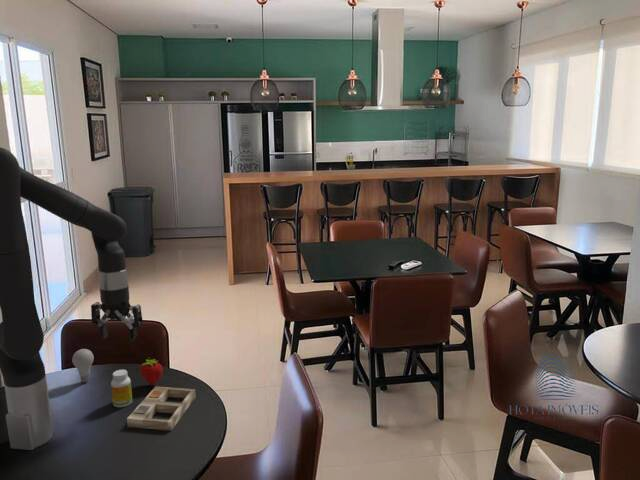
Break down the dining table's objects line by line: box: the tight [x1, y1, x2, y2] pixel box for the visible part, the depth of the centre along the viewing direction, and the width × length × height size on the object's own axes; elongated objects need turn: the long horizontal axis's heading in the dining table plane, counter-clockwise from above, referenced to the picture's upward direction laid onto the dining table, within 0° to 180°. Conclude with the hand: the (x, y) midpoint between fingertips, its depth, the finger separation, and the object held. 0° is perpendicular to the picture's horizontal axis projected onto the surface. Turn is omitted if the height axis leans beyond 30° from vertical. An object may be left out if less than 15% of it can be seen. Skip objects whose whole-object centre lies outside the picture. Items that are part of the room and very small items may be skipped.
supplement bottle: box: [110, 369, 133, 408], centre depth 152 cm, size 5×5×10 cm
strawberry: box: [139, 358, 164, 387], centre depth 161 cm, size 6×8×10 cm
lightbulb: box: [71, 348, 95, 383], centre depth 164 cm, size 6×6×11 cm
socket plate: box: [126, 385, 197, 432], centre depth 148 cm, size 18×12×3 cm
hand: (118, 338), depth 148 cm, fingers open, 8 cm apart
